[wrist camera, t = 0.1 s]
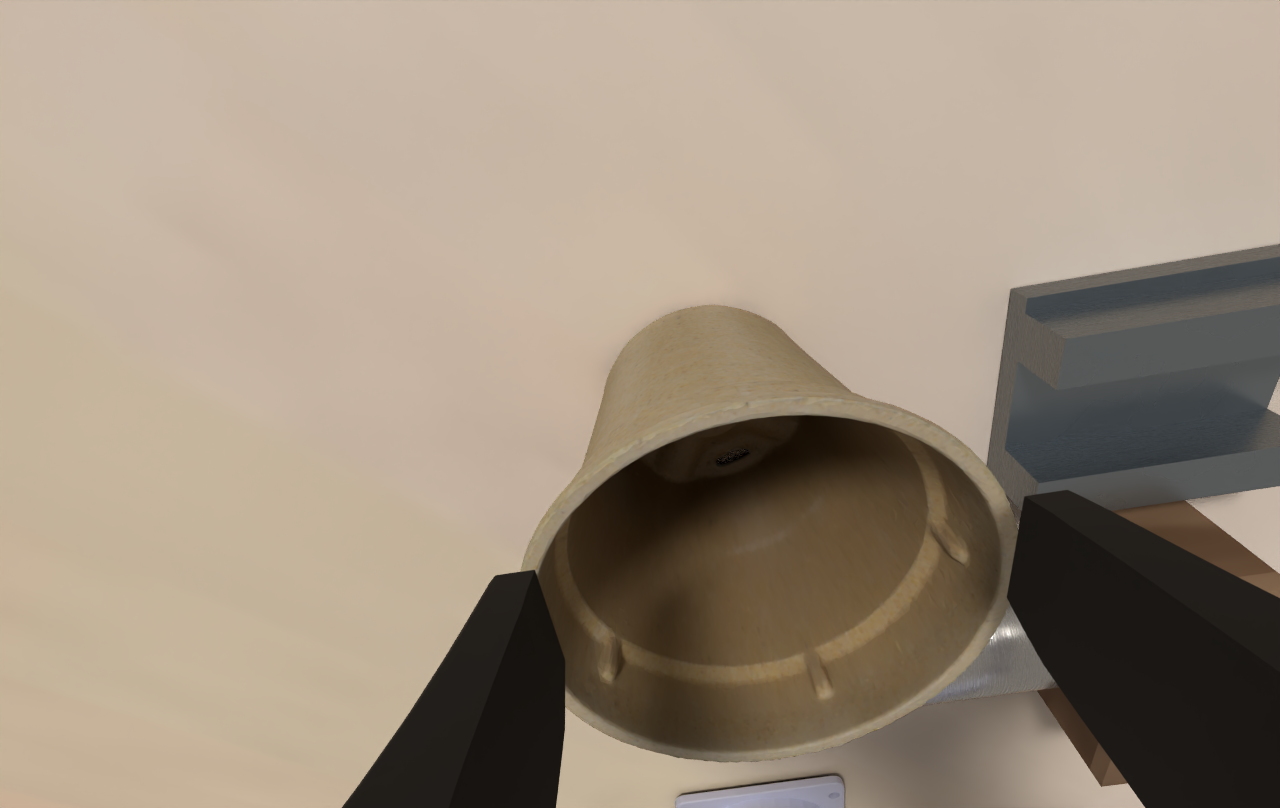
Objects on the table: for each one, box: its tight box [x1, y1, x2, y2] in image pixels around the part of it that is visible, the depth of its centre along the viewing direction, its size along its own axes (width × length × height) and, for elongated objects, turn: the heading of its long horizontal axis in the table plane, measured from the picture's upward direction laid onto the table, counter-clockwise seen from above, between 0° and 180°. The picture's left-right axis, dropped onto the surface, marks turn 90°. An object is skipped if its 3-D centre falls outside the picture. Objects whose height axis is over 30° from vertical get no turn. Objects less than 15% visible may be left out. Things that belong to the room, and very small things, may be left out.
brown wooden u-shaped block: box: [1037, 500, 1280, 787], centre depth 21 cm, size 9×4×5 cm, turn 9°
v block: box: [987, 244, 1280, 512], centre depth 18 cm, size 7×8×3 cm
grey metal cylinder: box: [922, 605, 1059, 706], centre depth 22 cm, size 10×4×4 cm, turn 99°
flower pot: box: [521, 305, 1018, 762], centre depth 15 cm, size 9×9×9 cm
